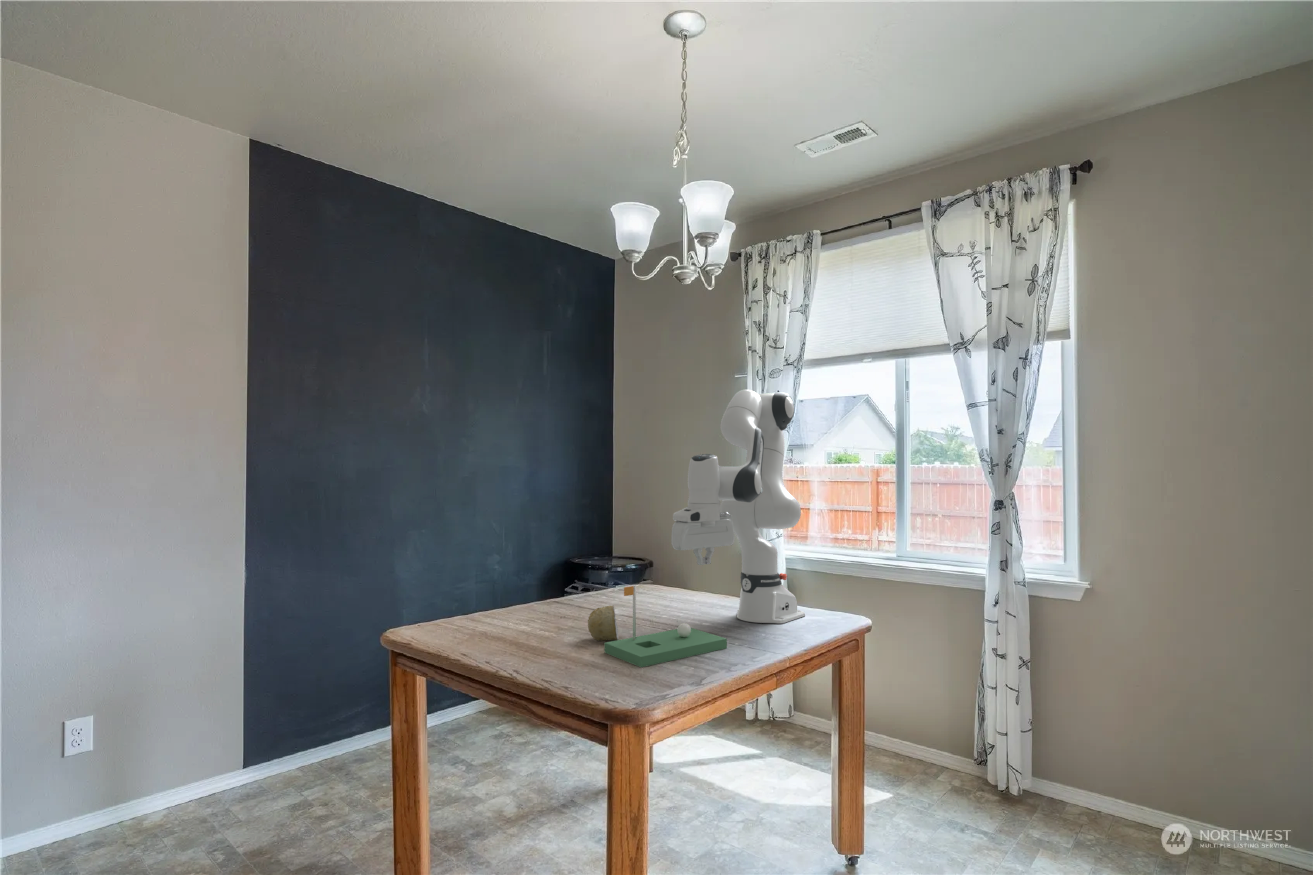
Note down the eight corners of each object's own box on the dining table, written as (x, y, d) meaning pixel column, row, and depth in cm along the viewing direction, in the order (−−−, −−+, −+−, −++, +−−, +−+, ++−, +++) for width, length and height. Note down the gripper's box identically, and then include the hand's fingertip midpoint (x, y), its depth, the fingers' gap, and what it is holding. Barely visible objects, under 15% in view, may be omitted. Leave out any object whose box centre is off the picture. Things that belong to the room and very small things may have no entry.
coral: (628, 618, 185) (594, 603, 185) (613, 652, 186) (579, 637, 186) (630, 608, 195) (598, 594, 195) (616, 640, 196) (584, 626, 196)
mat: (687, 635, 194) (687, 576, 195) (726, 648, 182) (726, 585, 182) (604, 652, 177) (604, 588, 178) (641, 667, 165) (641, 597, 165)
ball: (685, 634, 186) (685, 621, 186) (693, 637, 183) (693, 623, 183) (674, 636, 184) (674, 623, 184) (683, 639, 181) (683, 625, 181)
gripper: (723, 511, 198) (724, 559, 197) (667, 514, 185) (667, 566, 185) (739, 512, 192) (739, 562, 192) (682, 516, 180) (682, 569, 180)
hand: (703, 564), depth 188 cm, fingers closed
